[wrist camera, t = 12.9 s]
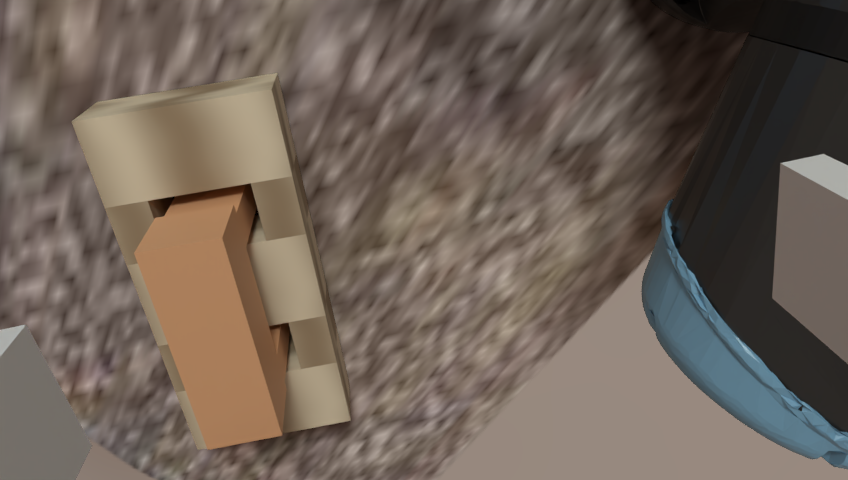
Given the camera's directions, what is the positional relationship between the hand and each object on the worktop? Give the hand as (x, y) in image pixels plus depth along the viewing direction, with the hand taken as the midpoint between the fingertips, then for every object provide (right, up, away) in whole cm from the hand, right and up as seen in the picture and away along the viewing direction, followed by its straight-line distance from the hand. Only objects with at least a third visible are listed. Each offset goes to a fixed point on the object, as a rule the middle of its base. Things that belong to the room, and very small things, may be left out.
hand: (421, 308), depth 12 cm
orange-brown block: (-12, 0, +30) cm, 32 cm away
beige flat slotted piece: (-12, 0, +30) cm, 32 cm away
